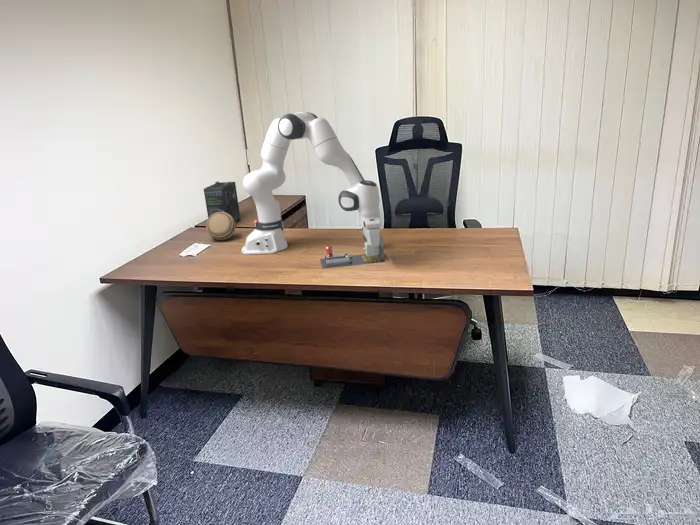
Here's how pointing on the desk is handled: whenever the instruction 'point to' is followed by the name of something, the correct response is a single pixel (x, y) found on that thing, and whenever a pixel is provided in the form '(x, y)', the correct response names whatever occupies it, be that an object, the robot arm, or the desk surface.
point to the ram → (331, 256)
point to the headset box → (222, 199)
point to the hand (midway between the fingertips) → (371, 250)
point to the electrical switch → (380, 239)
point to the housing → (368, 250)
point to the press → (354, 259)
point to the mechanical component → (220, 225)
